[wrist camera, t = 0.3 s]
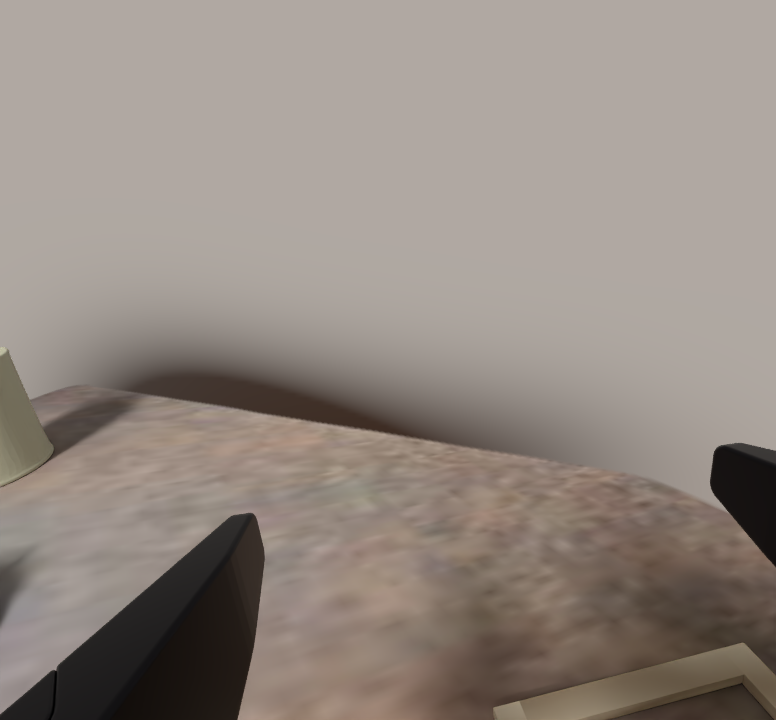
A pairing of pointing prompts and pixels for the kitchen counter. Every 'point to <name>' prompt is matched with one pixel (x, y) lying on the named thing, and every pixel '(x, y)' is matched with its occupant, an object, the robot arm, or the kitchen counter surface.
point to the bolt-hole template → (652, 688)
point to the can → (18, 427)
